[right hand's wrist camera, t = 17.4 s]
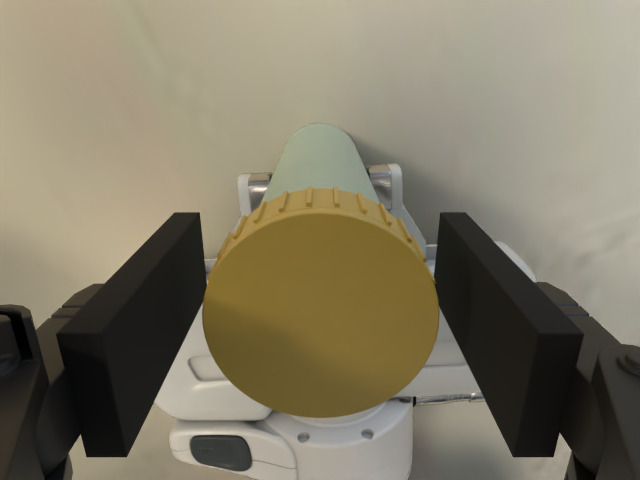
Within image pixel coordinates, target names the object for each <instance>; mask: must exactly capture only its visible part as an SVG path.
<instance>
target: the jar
mask: <svg viewBox="0 0 640 480" xmlns="http://www.w3.org/2000/svg"><path fill="white" fill-rule="evenodd" d="M308 186H312V189H316V188H326V189H333V186H334V187H338V190H342V191H348V192H351V193H354V194H357V193H358V192H360V193H362V195H363V197H365V198H367V199H369V200H371V201H373V202H375V203H377V204H378V205H379V204H380V202H379V199H378V197H377V195H376V192H375V190H374V188H373V186H372V183H371V181H370V179H369V176H368V174H367V172H366V169H365V167H364V165H363V163H362V160H361V158H360V156H359V153H358V151H357V149H356V147H355V144H354V142H353V141H352V139H351V138H350V137H349V136H348V134H346V133H345V132H344V131H343V130H341V129H340V128H338V127H336V126H333V125H331V124H326V123H314V124H310V125H307V126H304V127H302V128H300V129H299V130H298V131H296V132H295V133H294V134H293V135H292V136H291V137H290V138H289V140H288V141H287V143H286V145H285V147H284V150H283V152H282V154H281V157H280V159H279V161H278V164H277V166H276V169H275V171H274V173H273V176H272V178H271V180H270V183H269V185H268V187H267V190H266V192H265V194H264V197H263V199H262V201H261V202H263V201H265V202H268V201H270V200H272V199H274V198H276V197H279V196H281V195H283V192H285V191H288V193H290V192H294V191H299V190H304V189H308Z"/></svg>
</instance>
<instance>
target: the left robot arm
mask: <svg viewBox="0 0 640 480" xmlns="http://www.w3.org/2000/svg"><path fill="white" fill-rule="evenodd" d="M366 172H367V174H368V176H369V179H370V181H371V183H372V186H373V188H374V190H375V192H376V195H377V197H378V199H379V202H380V203H382V204H384V206H385V208H386V209H388V210H389V212H390V213H391V214H392V215H393V216H394V217H395V218H396V219H398V218H400V219H401V220H402V221H403V223H404V225H405V227H406V229H407V231H408V233H409V235H410V237H411V236H414V238H415V239H416V241H417V243H418V245H419V247H420V249H421V250H422V252H423V254H424V256H425V258H426V260H427V262H426V264H427V266H428V268H429V270H430V272H431V273H432V275H433V277H434V270H435V260H436V250H437V244H432V245H426V241H425V239H424V237H423V236H422V234H421V232H420V231H419V229H418V227H417V226H416V224H415V223H414V221H413V219H412V218H411V216H410V215H409V213H408V211H407V210H406V208H405V207H404V205H403V203H402V171H401V168H400V166H399V165H398V164H397V163H395V164H381V165H369V166H367V167H366ZM272 176H273V175H272V173H271V172H269V173H248V174H241V175H240V177H239V178H238V183H237V190H238V197H239V204H240V211H241V216H240V218H239V220H238V222H237V225H236V227H235V229H234V231H233V233H234V232H235V230H236V229H237V227H238V225H239V223H240V221H241V219H242V217H243V216H244V215H246V216H247V217H248V216H249V215H250V214H251V213H252V212H253V211H254V210H256V209H257V208H259V206H260V204H261V201H262V199H263V197H264V194H265V192H266V190H267V187H268V185H269V183H270V180H271V178H272ZM494 242H495V243H496V244H497V245H498V246H499V247H500V248H501V249H502V250H503V251H504V252H505V253H506V254H507V255H508V256H509V258H510V259H511V260H512V261H513V262H514V263H515V264H516V265H517V266H518V267H519V268H520V269H521V270H522V271H523V272H524V273H525V274H526V275H527V276H528V277H529V278H530V279H531V280H532V281H533V282H537V281H536V277H535V275H534V273H533V272H532V270H531V269H530V268H529V266H528V265H527V264H526V263H525V262H524V260H523V259H522V258H521V257H520V256H519V255H518V254H517V253H515V252H514V251H513V250H512V249H511V248H509V247H508V246H507V245H506V244H504V243H503V242H500V241H494ZM204 260H205V270H206V280H207V277H208V275H209V273H210V271H211V269H212V267H213V266H214V264H215V262H216V260H217V258H213V259H204ZM208 282H209V281H208V280H207V284H208ZM202 308H203V303H202V305H201V307H200V309H199V311H198V313H197V315H196V317H195V320H194V322H193V324H192V326H191V328H190V330H189V332H188V334H187V336H186V338H185V340H184V342H183V344H182V346H181V348H180V350H179V352H178V354H177V356H176V358H175V360H174V362H173V364H172V366H171V368H170V370H169V372H168V374H167V376H166V378H165V380H164V383H163V385H162V387H161V389H160V391H159V393H158V395H157V397H156V399H155V401H154V403H155V404H156V406H157V407H158V408H160V409H161V410H162V411H163V412H165V413H166V414H168V415H170V416H172V417H174V420H173V424H172V428H171V432H170V437H169V442H170V448H171V451H172V453H173V455H174V456H175V457H176V458H177V459H178V460H180V461H182V462H185V463H188V464H193V465H198V466H203V467H209V468H214V469H219V470H223V471H228V472H232V473H236V474H240V475H243V476H247V477H250V478H253V479H256V480H408V479H409V475H410V472H411V466H412V456H413V407H414V406H418V405H436V404H446V403H451V402H456V401H469V402H483V401H485V399H484V397H483V395H482V393H481V391H480V389H479V387H478V385H477V383H476V380H475V378H474V376H473V374H472V372H471V370H470V368H469V366H468V364H467V362H466V360H465V358H464V356H463V354H462V352H461V350H460V348H459V346H458V344H457V342H456V340H455V338H454V336H453V334H452V332H451V330H450V328H449V326H448V324H447V322H446V320H445V317H444V315H443V313H442V311H441V309H440V307H439V310H440V315H439V328H438V333H437V338H436V341H435V344H434V347H433V350H432V352H431V354H430V356H429V358H428V360H427V362H426V364H425V365H424V367H423V368H422V369H421V371H420V372H419V374H418V375H417V376H416V377H415V378H414V379H413V380H412V382H411V383H410V384H409V385H407V386H406V387H405V388H404V389H403V390H402V391H400V392H399V393H398V394H396V395H395V396H393V397H392V398H390V399H389V400H387V401H385V402H384V403H382V404H380V405H378V406H376V407H373V408H371V409H368V410H366V411H363V412H359V413H356V414H352V415H348V416H341V417H335V418H307V417H300V416H294V415H290V414H286V413H282V412H279V411H276V410H273V409H271V408H268V407H266V406H264V405H262V404H260V403H258V402H256V401H254V400H253V399H251V398H250V397H248V396H247V395H245V394H244V393H242V392H241V391H240V390H239V389H238V388H236V387H235V386H234V385H233V384H232V383H231V382H230V381H229V380H228V379H227V378H226V376H225V375H224V374H223V373H222V371H221V370H220V369H219V367H218V366H217V364H216V363H215V361H214V359H213V357H212V355H211V353H210V351H209V348H208V345H207V342H206V339H205V335H204V330H203V323H202Z"/></svg>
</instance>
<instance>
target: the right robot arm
mask: <svg viewBox="0 0 640 480" xmlns="http://www.w3.org/2000/svg"><path fill="white" fill-rule="evenodd" d="M434 279H435V282H436V284H434V285H435V288H436V292H437V296H438V301H439V307H440V309H441V311H442V313H443V315H444V317H445V320H446V322H447V324H448V326H449V328H450V330H451V332H452V334H453V336H454V338H455V340H456V342H457V344H458V346H459V348H460V350H461V352H462V354H463V356H464V358H465V360H466V362H467V364H468V366H469V368H470V370H471V372H472V374H473V376H474V378H475V380H476V383H477V385H478V387H479V389H480V391H481V393H482V395H483V397H484V399H485V401H486V403H487V405H488V407H489V409H490V411H491V413H492V415H493V417H494V419H495V421H496V423H497V425H498V427H499V429H500V431H501V433H502V435H503V437H504V439H505V441H506V444H507V446H508V448H509V450H510V452H511V454H512V456H513V457H553V456H554V452H555V448H556V444H557V440H558V436H559V432H560V433H561V435H562V436H563V438H564V439H565V441H566V442H567V444H568V446H569V447H570V449H571V450H572V452H571V456H570V460H569V463H568V467H567V471H566V474H565V478H564V480H640V347H638V346H634V345H625V344H621V343H620V342H619V341H618V340H616V339H615V338H614V337H613V336H612V335H611V334H610V333H609V332H608V331H607V330H606V329H605V328H604V327H602V326H601V325H600V324H599V323H598V322H597V321H596V320H595V319H594V318H593V317H589V314H588V313H587V312H586V311H585V310H584V309H583V308H582V307H581V306H578V303H577V302H575V301H574V300H573V299H572V298H571V297H570V296H569V295H568V294H567V293H566V292H564V291H562V290H560V289H558V288H556V287H554V286H552V285H551V284H549V283H547V282H533V281H532V280H531V279H530V278H529V277H528V276H527V275H526V274H525V273H524V272H523V271H522V270H521V269H520V268H519V267H518V266H517V265H516V264H515V263H514V262H513V261H512V260H511V259H510V258H509V256H508V255H507V254H506V253H505V252H504V251H503V250H502V249H501V248H500V247H499V246H498V245H497V244H496V243H495V242H494V241H493V240H492V239H491V238H490V237H489V236H488V235H487V234H486V233H485V232H484V231H483V230H482V229H481V228H480V227H479V226H478V225H477V224H476V223H475V222H474V221H473V220H472V219H471V218H470V217H469V216H468V215H467V214H466V213H440V221H439V231H438V241H437V250H436V260H435V270H434ZM206 288H207V280H206V270H205V260H204V250H203V241H202V231H201V221H200V213H174V214H173V215H172V216H171V217H170V218H169V219H168V220H167V221H166V222H165V223H164V224H163V225H162V226H161V227H160V228H159V229H158V230H157V231H156V232H155V233H154V234H153V235H152V236H151V237H150V238H149V239H148V240H147V241H146V242H145V243H144V244H143V245H142V246H141V247H140V248H139V249H138V250H137V251H136V252H135V253H134V254H133V255H132V256H131V257H130V259H129V260H128V261H127V262H126V263H125V264H124V265H123V266H122V267H121V268H120V269H119V270H118V271H117V272H116V273H115V274H114V275H113V276H112V277H111V278H110V279H109V280H108V281H107V282H106V283H105V284H93V285H91V286H89V287H87V288H85V289H83V290H81V291H79V292H77V293H76V294H74V295H73V296H72V297H71V298H70V299H69V300H68V301H67V302H66V303H65V304H63V305H62V308H59V309H58V310H57V311H56V312H55V313H54V314H53V315H52V317H51V318H48V319H47V320H46V321H45V322H44V323H43V324H42V325H41V326H40V327H39V328H38V329H37V330H35V327H34V323H33V319H32V315H31V312H30V310H29V309H27V308H26V307H24V306H19V305H11V304H9V305H0V480H72V474H73V470H72V464H71V460H70V456H69V451H70V450H71V448H72V446H73V445H74V443H75V442H76V440H77V439H78V437H79V436H80V434H81V436H82V440H83V444H84V448H85V452H86V456H87V457H127V456H128V454H129V452H130V450H131V448H132V446H133V443H134V441H135V439H136V437H137V435H138V433H139V431H140V429H141V427H142V425H143V423H144V421H145V419H146V417H147V415H148V413H149V411H150V409H151V407H152V405H153V403H154V401H155V399H156V397H157V395H158V393H159V391H160V389H161V387H162V385H163V383H164V380H165V378H166V376H167V374H168V372H169V370H170V368H171V366H172V364H173V362H174V360H175V358H176V356H177V354H178V352H179V350H180V348H181V346H182V344H183V342H184V340H185V338H186V336H187V334H188V332H189V330H190V328H191V326H192V324H193V322H194V320H195V317H196V315H197V313H198V311H199V309H200V307H201V305H202V303H203V299H204V295H205V291H206Z"/></svg>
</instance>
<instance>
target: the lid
mask: <svg viewBox="0 0 640 480" xmlns="http://www.w3.org/2000/svg"><path fill="white" fill-rule="evenodd" d="M426 262H427V260H426V258H425V256H424V254H423V252H422V250H421V249H420V247H419V245H418V243H417V241H416V239H415V238H414V236H411V237H410V235H409V233H408V231H407V229H406V227H405V225H404V223H403V221H402V220H401V219H400V218H398V219H396V218H395V217H394V216H393V215H392V214H391V213H389V212H388V211H387V210H386V208H385V206H384V204H382V203H380V204H379V205H378V204H377V203H375V202H373V201H371V200H369V199H367V198H365V197H363V195H362V193H360V192H358V193H357V194H354V193H351V192H348V191H342V190H338V187H334V186H333V189H326V188H316V189H312V186H308V189H304V190H299V191H294V192H290V193H288V191H285V192H283V195H281V196H279V197H276V198H274V199H272V200H270V201H268V202H265V201H263V202H261V204H260V206H259V208H257V209H256V210H254V211H253V212H252V213H251V214H250V215H249V216H248V217H247V216H246V215H244V216H243V217H242V219H241V221H240V223H239V225H238V227H237V229H236V230H235V232H234V233H233V234H232V233H229V235H228V237H227V239H226V241H225V242H224V244H223V246H222V248H221V250H220V252H219V254H218V256H217V260H216V262H215V264H214V266H213V267H212V269H211V271H210V273H209V275H208V277H207V280H208V281H209V282H208V284H207V288H206V291H205V295H204V299H203V308H202V323H203V330H204V335H205V339H206V342H207V345H208V348H209V351H210V353H211V355H212V357H213V359H214V361H215V363H216V364H217V366H218V367H219V369H220V370H221V371H222V373H223V374H224V375H225V376H226V378H227V379H228V380H229V381H230V382H231V383H232V384H233V385H234V386H235V387H236V388H238V389H239V390H240V391H241V392H242V393H244V394H245V395H247V396H248V397H250V398H251V399H253V400H254V401H256V402H258V403H260V404H262V405H264V406H266V407H268V408H271V409H273V410H276V411H279V412H282V413H286V414H290V415H294V416H300V417H307V418H335V417H341V416H348V415H352V414H356V413H359V412H363V411H366V410H368V409H371V408H373V407H376V406H378V405H380V404H382V403H384V402H385V401H387V400H389V399H390V398H392V397H393V396H395V395H396V394H398V393H399V392H400V391H402V390H403V389H404V388H405V387H406V386H407V385H409V384H410V383H411V382H412V380H413V379H414V378H415V377H416V376H417V375H418V374H419V372H420V371H421V369H422V368H423V367H424V365H425V364H426V362H427V360H428V358H429V356H430V354H431V352H432V350H433V347H434V344H435V341H436V338H437V333H438V328H439V315H440V310H439V301H438V296H437V292H436V288H435V285H434V284H436V282H435V279H434V277H433V275H432V273H431V272H430V270H429V268H428V266H427V264H426Z"/></svg>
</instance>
